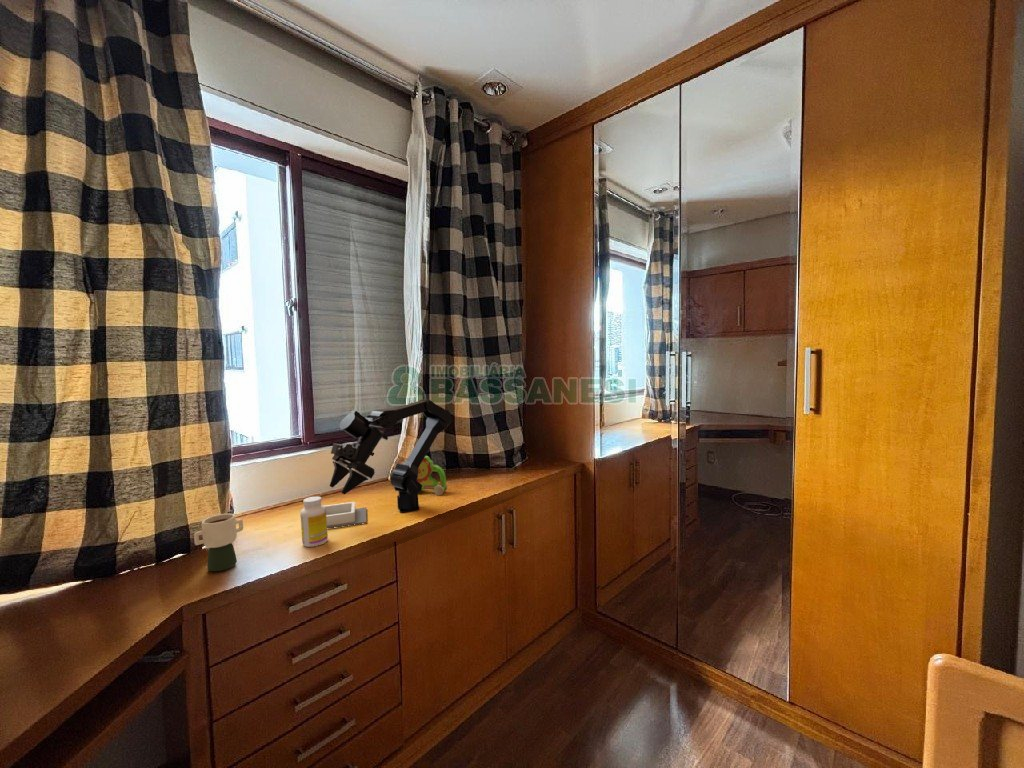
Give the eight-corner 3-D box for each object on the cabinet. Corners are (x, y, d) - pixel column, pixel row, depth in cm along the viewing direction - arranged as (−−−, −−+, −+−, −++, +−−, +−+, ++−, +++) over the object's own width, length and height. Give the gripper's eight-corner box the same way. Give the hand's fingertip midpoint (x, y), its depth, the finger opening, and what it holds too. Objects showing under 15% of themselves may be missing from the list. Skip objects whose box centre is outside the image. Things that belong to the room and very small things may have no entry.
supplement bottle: (333, 539, 124) (330, 496, 124) (315, 549, 118) (312, 503, 117) (314, 536, 127) (312, 494, 126) (297, 546, 120) (293, 501, 119)
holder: (366, 508, 149) (365, 498, 148) (366, 523, 135) (365, 512, 135) (309, 516, 143) (309, 506, 143) (304, 532, 130) (303, 521, 129)
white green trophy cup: (239, 555, 115) (236, 509, 115) (251, 562, 111) (248, 514, 110) (191, 573, 107) (187, 522, 106) (203, 581, 102) (198, 528, 102)
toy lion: (448, 491, 165) (446, 453, 164) (442, 496, 160) (441, 456, 159) (410, 489, 169) (409, 452, 168) (404, 494, 163) (402, 455, 162)
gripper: (333, 428, 136) (303, 472, 131) (358, 436, 123) (326, 485, 117) (360, 445, 143) (333, 487, 137) (387, 454, 129) (358, 501, 123)
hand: (336, 490), depth 128 cm, fingers open, 9 cm apart
